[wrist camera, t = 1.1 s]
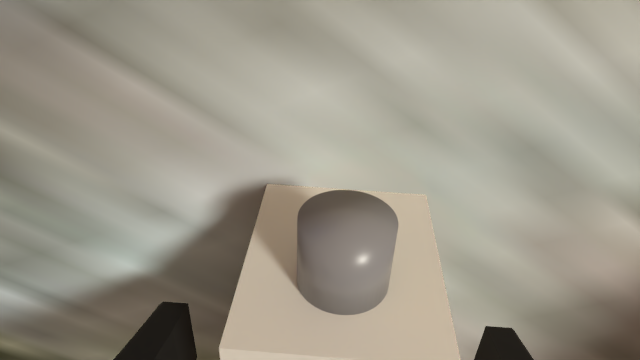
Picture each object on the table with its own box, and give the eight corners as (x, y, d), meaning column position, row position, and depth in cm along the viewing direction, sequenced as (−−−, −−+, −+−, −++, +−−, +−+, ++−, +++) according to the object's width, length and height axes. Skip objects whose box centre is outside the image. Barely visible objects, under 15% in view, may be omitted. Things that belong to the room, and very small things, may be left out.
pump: (435, 140, 11) (483, 305, 7) (395, 345, 15) (410, 526, 11) (266, 129, 11) (209, 283, 7) (272, 336, 15) (239, 510, 11)
